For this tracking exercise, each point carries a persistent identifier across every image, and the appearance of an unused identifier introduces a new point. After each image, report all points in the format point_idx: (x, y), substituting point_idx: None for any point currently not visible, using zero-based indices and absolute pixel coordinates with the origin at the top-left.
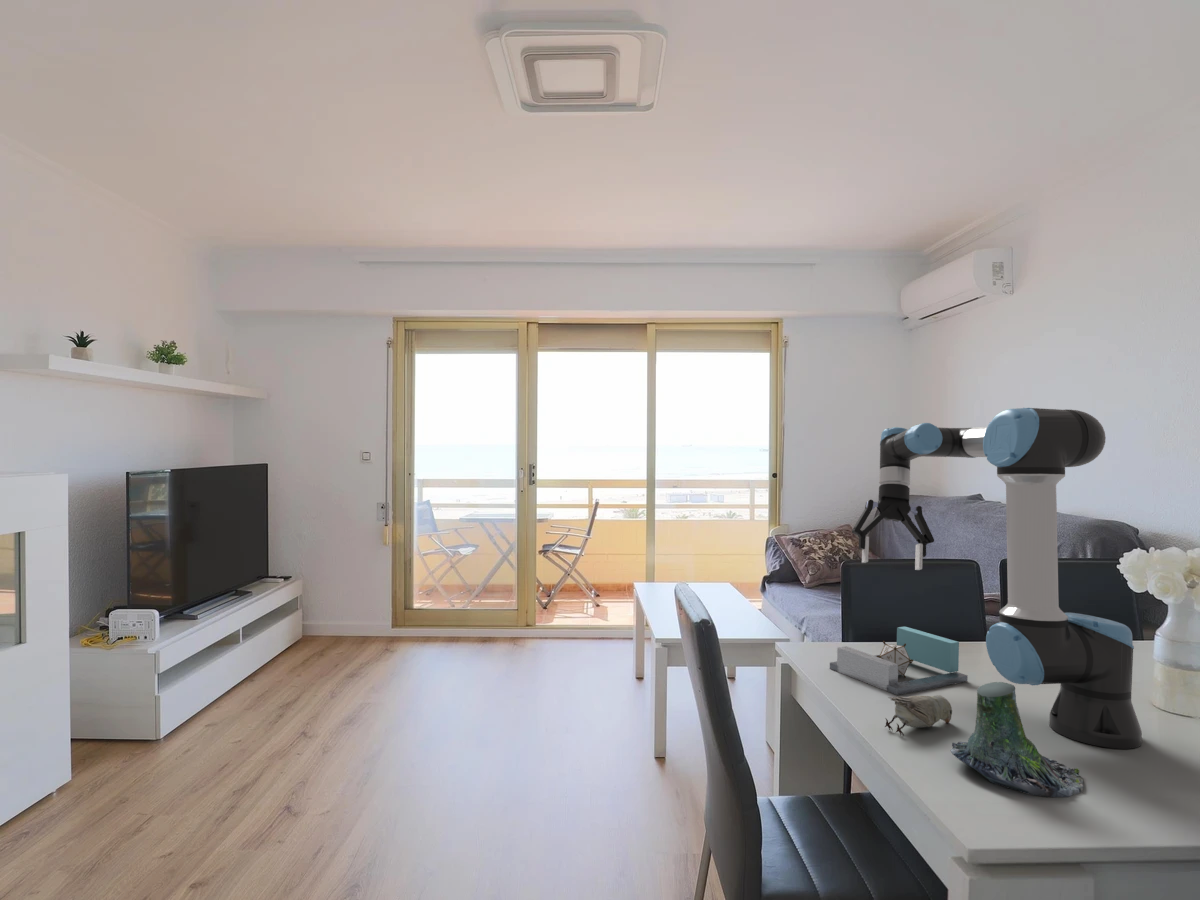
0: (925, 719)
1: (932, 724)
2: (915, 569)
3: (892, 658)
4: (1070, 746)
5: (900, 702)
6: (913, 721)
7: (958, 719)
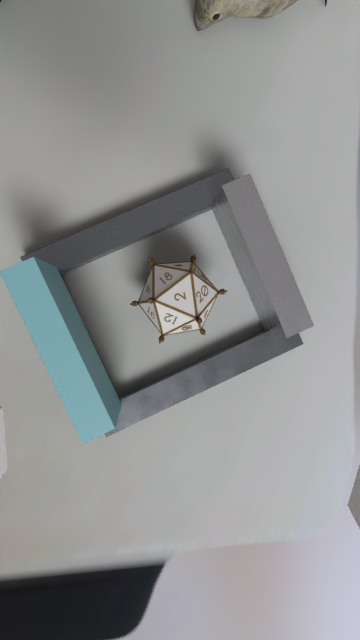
0: None
1: None
2: (5, 464)
3: (196, 270)
4: None
5: None
6: None
7: (167, 42)
